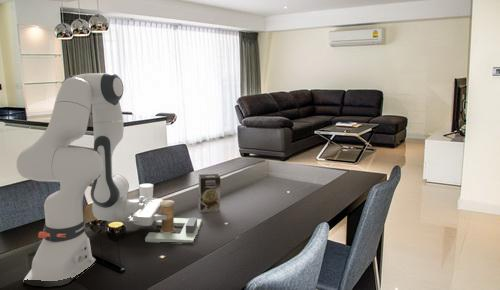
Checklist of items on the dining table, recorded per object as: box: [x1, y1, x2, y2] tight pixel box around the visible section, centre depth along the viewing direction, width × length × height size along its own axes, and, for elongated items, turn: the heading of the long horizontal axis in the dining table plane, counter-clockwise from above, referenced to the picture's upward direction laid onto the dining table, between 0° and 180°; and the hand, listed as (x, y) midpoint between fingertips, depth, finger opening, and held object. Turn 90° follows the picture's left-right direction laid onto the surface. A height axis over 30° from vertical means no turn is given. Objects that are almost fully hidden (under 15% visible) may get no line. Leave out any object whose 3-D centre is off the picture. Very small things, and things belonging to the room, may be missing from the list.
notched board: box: [144, 217, 203, 243], centre depth 156 cm, size 20×18×4 cm
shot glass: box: [138, 182, 154, 198], centre depth 191 cm, size 7×7×7 cm
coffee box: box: [197, 173, 221, 213], centre depth 179 cm, size 9×6×16 cm
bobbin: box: [160, 199, 176, 234], centre depth 156 cm, size 6×6×12 cm
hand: (169, 212), depth 155 cm, fingers open, 8 cm apart
